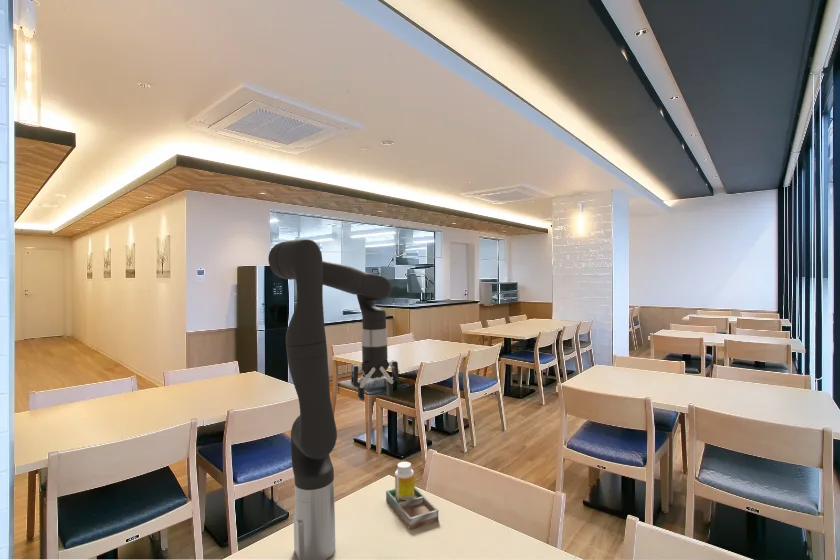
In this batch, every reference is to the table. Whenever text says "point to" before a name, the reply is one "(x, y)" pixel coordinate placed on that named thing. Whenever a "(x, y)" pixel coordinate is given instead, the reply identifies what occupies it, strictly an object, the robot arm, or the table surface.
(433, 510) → the divided sorting tray
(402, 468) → the supplement bottle
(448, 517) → the table surface
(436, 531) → the table surface
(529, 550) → the table surface
